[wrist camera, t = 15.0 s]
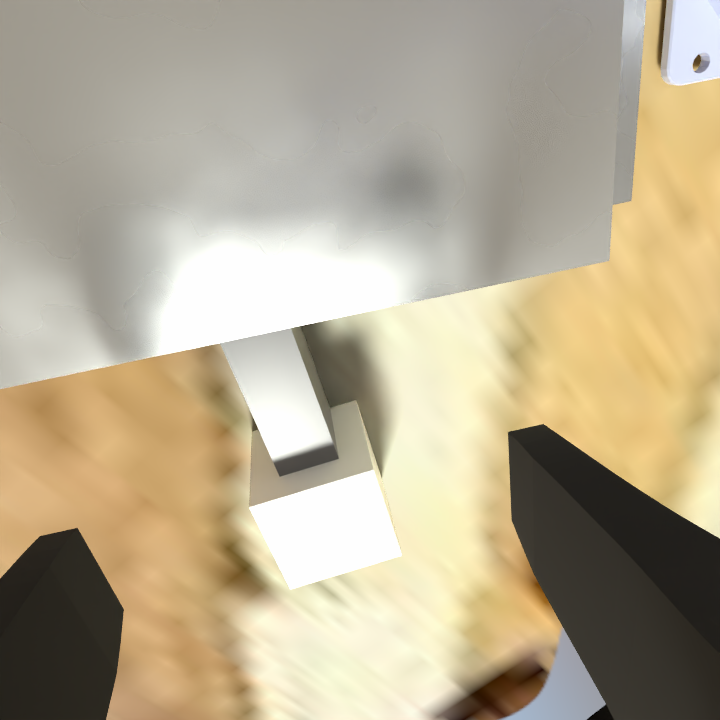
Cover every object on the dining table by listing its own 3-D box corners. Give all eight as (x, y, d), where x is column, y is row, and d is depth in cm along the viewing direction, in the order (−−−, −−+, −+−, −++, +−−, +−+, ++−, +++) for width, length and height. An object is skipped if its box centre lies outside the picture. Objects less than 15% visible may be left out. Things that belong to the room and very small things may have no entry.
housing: (639, -226, 14) (933, -434, 8) (614, 193, 19) (781, 266, 13) (-312, -62, 13) (-833, -154, 7) (-72, 334, 18) (-246, 486, 12)
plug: (192, -102, 14) (167, -150, 10) (387, 496, 24) (408, 574, 20) (32, -52, 14) (-47, -83, 10) (294, 524, 24) (299, 607, 20)
